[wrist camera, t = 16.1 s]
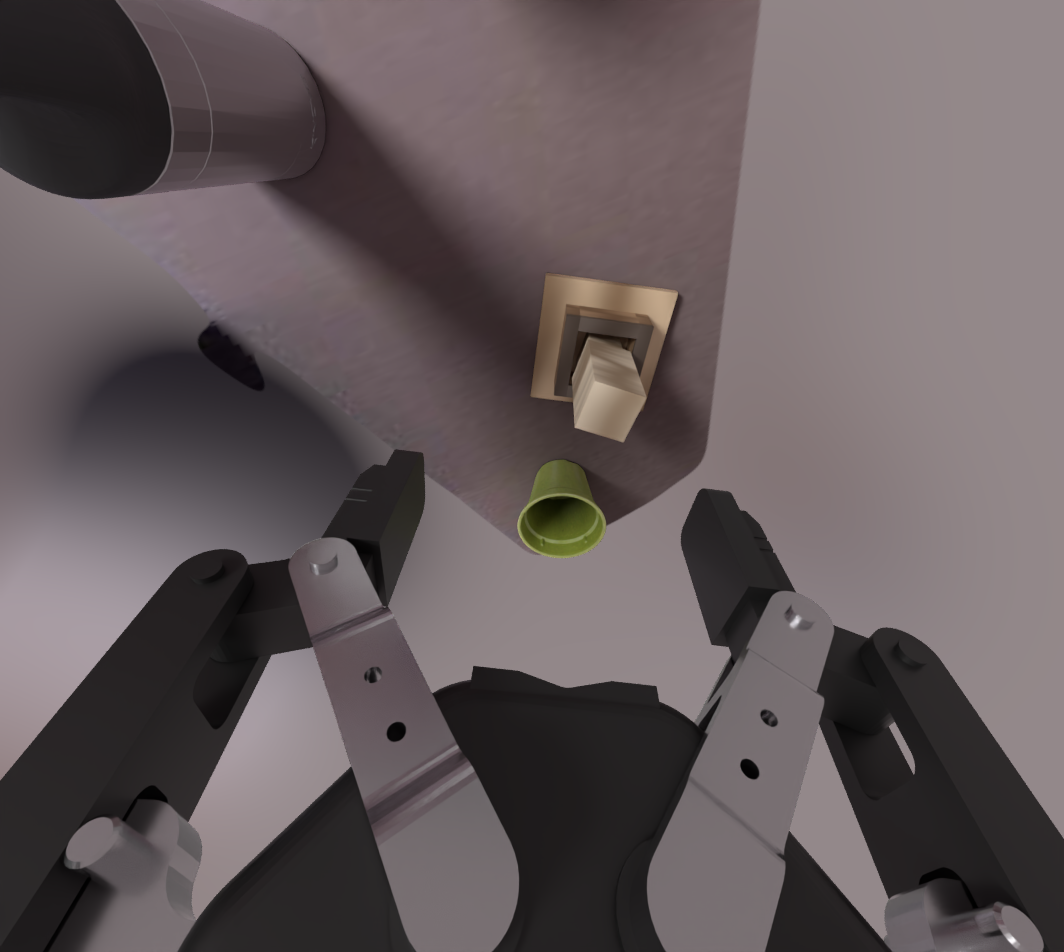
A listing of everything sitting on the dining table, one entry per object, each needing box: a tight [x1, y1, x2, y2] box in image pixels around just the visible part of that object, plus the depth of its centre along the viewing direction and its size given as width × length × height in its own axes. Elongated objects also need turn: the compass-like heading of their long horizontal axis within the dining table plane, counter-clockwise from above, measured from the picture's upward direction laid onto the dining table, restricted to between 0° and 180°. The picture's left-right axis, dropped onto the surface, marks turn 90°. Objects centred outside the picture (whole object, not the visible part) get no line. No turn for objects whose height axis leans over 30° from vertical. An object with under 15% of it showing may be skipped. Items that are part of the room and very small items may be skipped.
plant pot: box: [518, 460, 606, 558], centre depth 50 cm, size 9×9×9 cm
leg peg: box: [572, 332, 647, 442], centre depth 38 cm, size 4×4×13 cm
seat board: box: [530, 273, 678, 411], centre depth 42 cm, size 12×12×4 cm
